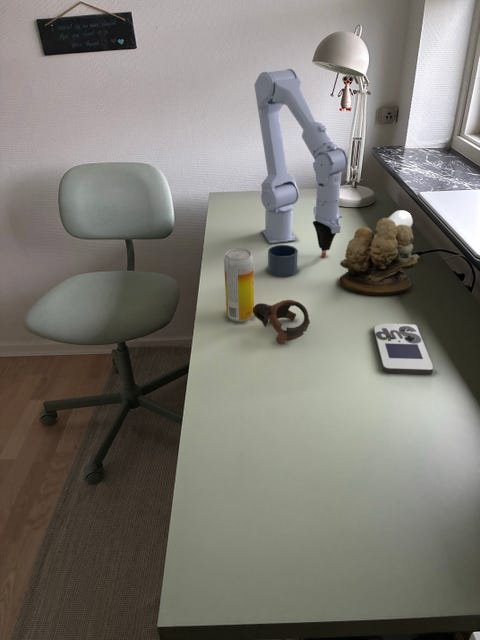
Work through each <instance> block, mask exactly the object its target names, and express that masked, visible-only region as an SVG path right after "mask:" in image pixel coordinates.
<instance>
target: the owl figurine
mask: <svg viewBox="0 0 480 640" xmlns="http://www.w3.org/2000/svg"><path fill="white" fill-rule="evenodd" d="M375 232H376V233H374V231H373V230H372V229H371V228H369V227H360V228H358V229H357V230H356V231H355V232H354V236H353V238H352V239H350V240H349V241H348V244H347V246H346V250H345V256H344V257H345V258H344V259H343V260H341V261H340V262H339V266H341V267H342V268H343V269H347V271H346V272H345V273H343V274H342V275H341V276H340V277H339V285H340V286H341V287H342V288H343V290H346V291H348V292H350V293H354V294H357V295H358V294H359V295H365V296H379V297H380V296H395V295H399V294H403V293H405V292H407V291H409V290H410V289H411V288H412V285H413V282H412V279H411V278H410V276H408V275H407V274H405V272H404V271H405V270H411V269H412V268H413V267H415V265H416V264H418V260H419V259H420V255H418V254H416V253H414V254H412V252H413V249H414V245H413V244H412V243H413V241H414V234H413V228H412V226H411V227H410V226H407V225H398V226H396V224H395V222H394V221H393V220H391V219H389V217H382V218H381V219H379V220H378V221H377V222H376V225H375ZM375 235H376V236H375Z"/></svg>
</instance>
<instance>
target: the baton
mask: <svg viewBox="0 0 480 640" xmlns="http://www.w3.org/2000/svg"><path fill="white" fill-rule="evenodd" d="M321 258H324V259H325V258H327V250H325V251H322V250H321Z"/></svg>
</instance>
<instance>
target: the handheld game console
mask: <svg viewBox="0 0 480 640" xmlns="http://www.w3.org/2000/svg"><path fill="white" fill-rule="evenodd" d="M373 337H374V341H375V345H376V349H377V350H376V351H377V354H378V357H379V363H380V367H381V370H382V372H383V373H385V374H399V375H400V374H401V375H402V374H403V375H429V376H430V375H433V371H434V365H433V363H432V360H431V358H430V355H429V353H428V350H427V348H426V346H425V343H424V340H423V338H422V336H421V333H420V331H419V328H418V325H416V324H412V323H411V324H408V323H380V324H377V325H376V326H374V330H373Z"/></svg>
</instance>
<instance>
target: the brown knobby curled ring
mask: <svg viewBox="0 0 480 640" xmlns="http://www.w3.org/2000/svg"><path fill="white" fill-rule="evenodd" d="M291 307H297V308H298V309H299V310H300V311H301V312H302V314H303V321H302V323H301V324H300V325H298V326H295V327H288V326H286V330H285V329H283V328H282V325H283V324H282V323H281V322H280V320H279V319H286V320H287V319H288V320H290V321H292V322H294V321H295V319H296V316H297V313H295V312H293V311H291V310H290V308H291ZM253 313H254V314H253V316H255V318H256V319H258V320H259V321H260V322H261V323H262V324H263V327H264V328H266V327H268V326H267V325H268V323H269V324H270V325H271V326H272V328H273V330H274V331H275V332H276V333H277V335H276V337H275V342H277V343H278V344H281V345H282V344H285V343H286V342H290V341H293V340H296V339H298V338H300V337H302V336H303V335H304V333H305V332H307V330H308V328H309V325H310V324H311V321H310V318H309V312H308V309H307V308H306V306H304V305H303V304H302V303H301V302H299V301H296V300H293V299H284V300H281V301H278V302H276V303H274V304H267V303H257V304H254V308H253Z"/></svg>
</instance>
